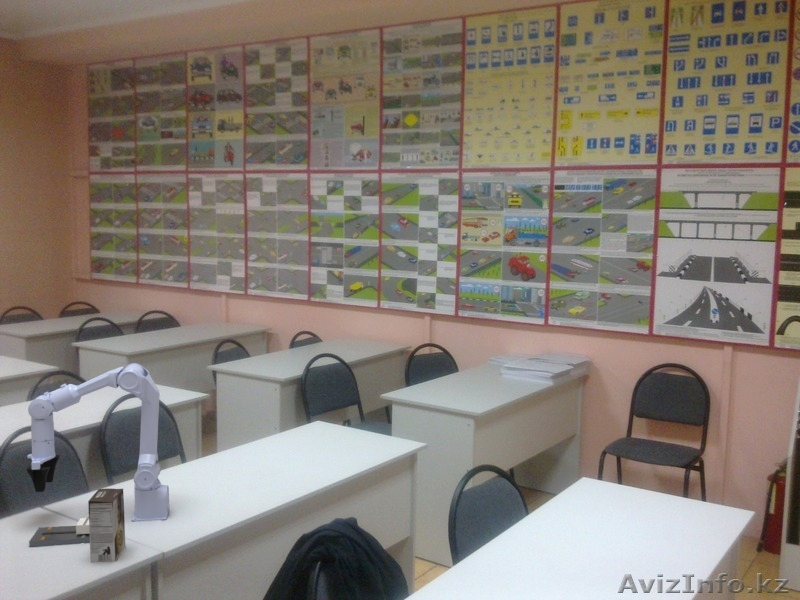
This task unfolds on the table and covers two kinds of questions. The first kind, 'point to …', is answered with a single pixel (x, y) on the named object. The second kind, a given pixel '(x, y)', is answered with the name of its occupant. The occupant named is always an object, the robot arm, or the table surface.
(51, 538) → the fader panel
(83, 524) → the fader knob
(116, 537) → the coffee box
